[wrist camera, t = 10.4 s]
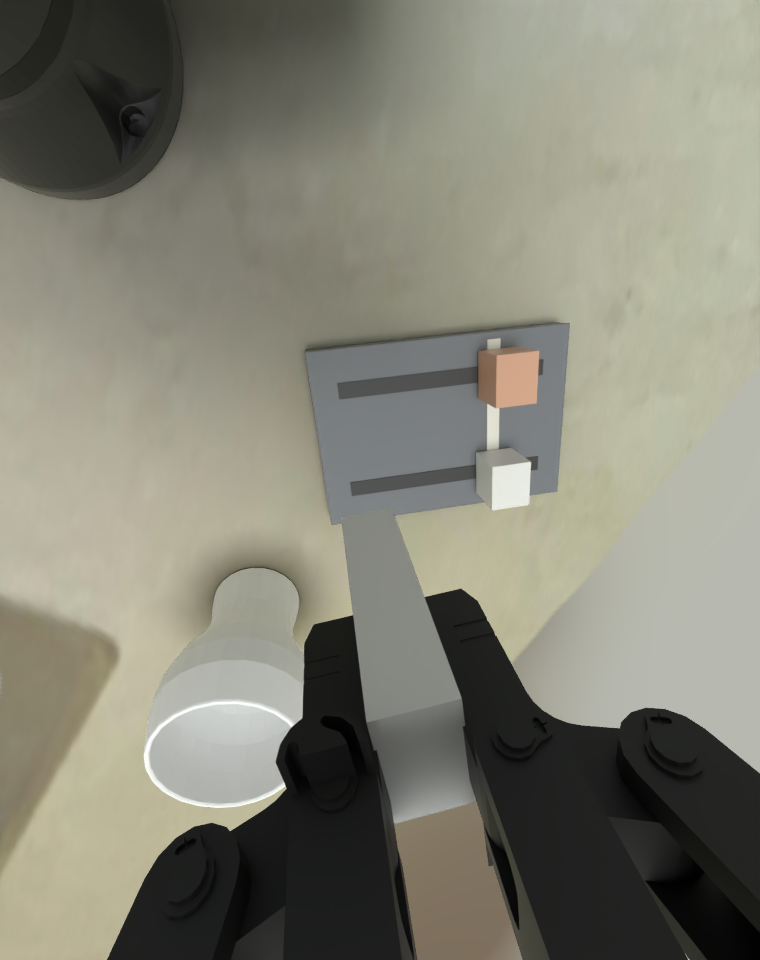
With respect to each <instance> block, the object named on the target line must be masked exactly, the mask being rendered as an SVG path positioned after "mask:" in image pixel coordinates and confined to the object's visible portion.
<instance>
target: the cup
mask: <svg viewBox="0 0 760 960" xmlns="http://www.w3.org/2000/svg"><path fill="white" fill-rule="evenodd" d="M298 609H299V595H298V592H297V589H296V588H295V586H294V585H293V583H292V582H291V581H290V580H289V579H288V578H286V577H285V576H284V575H282V574H280V573H278V572H276V571H274V570H269V569H265V568H249V569H244V570H240V571H238V572H236V573H233V574H231V575H230V576H229V577H227V578H226V579H225V580H224V581H222V583H221V584H220V586H219V587H218V588H217V591H216V594H215V597H214V602H213V609H212V622H211V623H210V625H209V627H208V629H207V630H206V631H205V632H203V633H202V634H200V635H199V636H198V637H197V638H195V639H194V640H193V641H192V642H190V643H189V644H188V645H187V647H186V648H185V649H184V650H183V651H182V652H181V654H180V655H179V656H178V657H177V658H176V659H175V660H174V662H173V663H172V664H171V666H170V667H169V669H168V670H167V671H166V673H165V674H164V676H163V678H162V680H161V683H160V685H159V687H158V690H157V692H156V694H155V697H154V699H153V702H152V705H151V709H150V712H149V716H148V723H147V731H146V738H145V746H144V761H145V769H146V771H147V772H148V774H149V776H150V778H151V780H152V781H153V783H154V784H156V785H157V786H158V787H159V788H160V789H161V790H162V791H163V792H164V793H166V794H168V795H170V796H172V797H174V798H176V799H178V800H179V801H182V802H186V803H189V804H193V805H197V806H204V807H215V808H222V807H235V806H241V805H245V804H249V803H253V802H257V801H259V800H262V799H264V798H266V797H268V796H271V795H273V794H275V793H276V792H277V791H279V790H280V789H282V788H283V787H285V783H284V781H283V779H282V776H281V774H280V772H279V769H278V767H277V765H276V758H277V754H278V750H279V747H280V744H281V742H282V740H283V739H284V737H285V736H286V734H287V733H288V731H289V730H290V728H291V727H292V726H294V725H295V724H296V723H297V722H298V721H299V720H301V719H302V716H303V684H304V667H305V666H304V654H303V652H302V651H301V649H300V648H299V646H298V645H297V643H296V642H295V641H294V639H293V631H292V630H293V627H294V624H295V621H296V618H297V614H298Z"/></svg>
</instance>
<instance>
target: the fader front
mask: <svg viewBox="0 0 760 960" xmlns="http://www.w3.org/2000/svg"><path fill="white" fill-rule="evenodd" d="M538 367H539V351H538V350H533V349H528V348H522V347H517V346H516V347H508V348H499V349H490V350H481V351H478V399H480V400H481V401H483V402H485V403H487V404H489V405H490V406H492V407H494V408H496V409H497V408H504V407H512V406H520V405H528V404H536V403H537V387H538Z"/></svg>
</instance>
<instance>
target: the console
mask: <svg viewBox="0 0 760 960" xmlns="http://www.w3.org/2000/svg"><path fill="white" fill-rule="evenodd" d="M569 328H570V323H548V324H539V325H530V326H521V327H512V328H502V329H493V330H484V331H475V332H466V333H457V334H448V335H439V336H429V337H420V338H411V339H402V340H393V341H384V342H375V343H365V344H356V345H347V346H338V347H329V348H320V349H311V350H305V357H306V364H307V370H308V377H309V383H310V389H311V396H312V402H313V409H314V415H315V422H316V428H317V434H318V441H319V447H320V454H321V460H322V467H323V473H324V479H325V486H326V492H327V499H328V505H329V512H330V518H331V524H332V525H334V524H341V523H342V520H341V518H342V517H346V516H351V515H355V514H360V513H365V512H369V511H374V510H378V509H383V508H387V507H391V508H392V510H393V513H394V516H395V515H402V514H408V513H415V512H422V511H429V510H435V509H442V508H449V507H456V506H462V505H469V504H476V503H482V502H484V501H483V500H482V498H481V497H480V496H479V495H478V494H477V493H476V452H483V451H491V450H498V449H505V448H512V449H514V450H515V451H517V452H518V453H519V454H521V455H522V456H524V457H525V458H526V459H528V460H529V461H531V473H530V494H529V496H530V495H536V494H543V493H550V492H556V491H557V486H558V473H559V459H560V446H561V433H562V420H563V407H564V394H565V381H566V368H567V354H568V341H569ZM516 346H517V347H522V348H528V349H533V350H538V351H539V367H538V387H537V403H536V404H528V405H520V406H512V407H504V408H497V409H496V408H494V407H492V406H490V405H489V404H487V403H485V402H483V401H481V400H480V399H478V351H481V350H490V349H499V348H508V347H516Z"/></svg>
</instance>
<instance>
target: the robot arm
mask: <svg viewBox="0 0 760 960" xmlns="http://www.w3.org/2000/svg"><path fill="white" fill-rule="evenodd" d="M182 88H183V70H182V58H181V49H180V43H179V38H178V33H177V29H176V25H175V21H174V18H173V14H172V11H171V8H170V5H169V2H168V0H0V178H2V179H4V180H7V181H9V182H12V183H14V184H16V185H19V186H21V187H24V188H26V189H28V190H31V191H34V192H37V193H40V194H44V195H47V196H52V197H57V198H63V199H75V200H83V199H95V198H101V197H106V196H109V195H112V194H115V193H118V192H120V191H123V190H125V189H127V188H128V187H130V186H132V185H133V184H135V183H137V182H138V181H139V180H141V179H142V178H143V177H144V176H145V175H146V174H147V173H149V172H150V171H151V170H152V168H153V167H154V166H155V165H156V164H157V163H158V161H159V160H160V158H161V157H162V155H163V154H164V152H165V150H166V149H167V147H168V145H169V143H170V141H171V138H172V136H173V133H174V131H175V128H176V124H177V121H178V117H179V112H180V107H181V100H182ZM341 520H342V528H343V536H344V544H345V552H346V560H347V569H348V577H349V585H350V593H351V601H352V609H353V616H348V617H344V618H340V619H336V620H331V621H327V622H323V623H318V624H314V625H313V627H312V629H311V631H310V633H309V635H308V637H307V639H306V641H305V645H304V666H305V667H304V684H303V716H302V719H301V720H299V721H298V722H297V723H296V724H295V725H294V726H292V727H291V728H290V730H289V731H288V733H287V734H286V736H285V737H284V739H283V740H282V742H281V744H280V747H279V750H278V754H277V758H276V765H277V767H278V769H279V772H280V774H281V776H282V779H283V781H284V783H285V786H286V788H287V789H286V790H285V791H284V792H283V793H282V795H281V796H280V797H279V798H278V799H277V800H276V801H275V802H274V803H272V804H271V805H270V806H268V807H267V808H266V809H265V810H263V811H262V812H260V813H258V814H257V815H255V816H254V817H252V818H251V819H249V820H247V821H246V822H244V823H243V824H241V825H240V826H238V827H236V828H235V829H233V830H232V831H229V830H228V828H227V827H224V826H221V825H217V824H214V823H209V824H205V825H200V826H195V827H193V828H191V829H190V830H188V831H187V832H185V833H183V834H182V835H180V836H178V837H177V838H175V840H174V841H173V842H172V843H171V844H170V845H169V846H168V847H167V848H166V849H165V850H164V851H163V852H162V853H161V854H160V855H159V856H158V858H157V859H156V861H155V863H154V864H153V866H152V868H151V869H150V871H149V873H148V874H147V876H146V878H145V879H144V881H143V883H142V886H141V888H140V890H139V892H138V894H137V896H136V899H135V901H134V903H133V905H132V907H131V909H130V912H129V914H128V916H127V918H126V920H125V922H124V924H123V927H122V929H121V931H120V933H119V935H118V937H117V940H116V942H115V944H114V946H113V948H112V950H111V952H110V955H109V957H108V959H107V960H417V955H416V949H415V943H414V936H413V930H412V924H411V917H410V911H409V904H408V898H407V892H406V885H405V879H404V873H403V866H402V863H401V859H400V856H399V852H398V848H397V841H396V834H395V828H394V824H395V823H398V822H402V821H406V820H410V819H414V818H418V817H421V816H425V815H429V814H432V813H436V812H440V811H443V810H447V809H451V808H455V807H459V806H463V805H466V804H470V803H474V802H475V798H476V801H477V804H478V807H479V810H480V814H481V817H482V820H483V824H484V833H485V841H486V850H487V857H488V864H489V866H492V865H493V866H494V869H495V872H496V875H497V879H498V882H499V885H500V888H501V892H502V895H503V898H504V901H505V904H506V907H507V911H508V914H509V917H510V920H511V924H512V927H513V930H514V933H515V936H516V939H517V943H518V946H519V949H520V952H521V956H522V959H523V960H688V959H687V957H688V958H689V959H690V960H760V773H758V772H757V771H756V770H755V769H753V768H752V767H751V766H750V765H748V764H747V763H746V762H745V761H744V760H742V759H741V758H740V757H739V756H737V755H736V754H735V753H734V752H733V751H731V750H730V749H729V748H728V747H727V746H725V745H724V744H723V743H722V742H720V741H719V740H718V739H717V738H715V737H714V736H713V735H712V734H711V733H709V732H708V731H707V730H706V729H704V728H703V727H701V726H700V725H698V724H696V723H695V722H693V721H692V720H690V719H689V718H687V717H685V716H683V715H680V714H677V713H674V712H671V711H669V710H666V709H655V708H644V709H641V710H638V711H634V712H631V713H630V714H629V715H628V716H627V717H626V718H625V719H624V720H623V721H622V722H621V726H620V729H619V728H606V727H593V726H592V727H591V726H581V725H576V724H570V723H566V722H564V721H561V720H559V719H556V718H554V717H552V716H551V715H549V714H548V713H546V712H544V711H543V710H541V708H539V707H538V706H537V705H536V704H535V703H534V702H533V701H532V699H531V698H530V696H529V695H528V694H527V692H526V690H525V689H524V687H523V685H522V683H521V681H520V679H519V677H518V675H517V674H516V672H515V670H514V668H513V666H512V664H511V662H510V661H509V659H508V657H507V655H506V653H505V651H504V649H503V648H502V646H501V644H500V642H499V640H498V638H497V636H495V634H494V631H493V629H492V627H491V625H490V623H489V622H488V621H487V618H486V616H485V614H484V612H483V610H482V609H481V607H480V605H479V603H478V601H477V600H475V599H474V598H473V597H471V596H470V595H469V594H468V593H466V592H465V591H464V590H462V589H458V590H453V591H449V592H445V593H441V594H436V595H432V596H428V597H424V595H423V592H422V589H421V586H420V584H419V581H418V578H417V576H416V573H415V570H414V567H413V565H412V562H411V559H410V557H409V554H408V551H407V548H406V546H405V543H404V540H403V538H402V535H401V532H400V529H399V527H398V524H397V521H396V518H395V516H394V513H393V510H392V508H391V507H387V508H383V509H378V510H374V511H369V512H365V513H360V514H355V515H351V516H346V517H342V518H341ZM474 795H475V798H474ZM685 954H686V955H687V957H686V955H685Z"/></svg>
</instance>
